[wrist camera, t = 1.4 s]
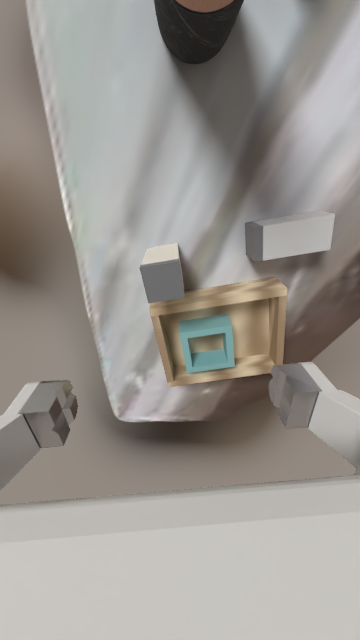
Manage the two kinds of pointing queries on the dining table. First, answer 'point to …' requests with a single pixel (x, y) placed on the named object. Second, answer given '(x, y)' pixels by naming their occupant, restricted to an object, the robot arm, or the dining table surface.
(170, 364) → the birch crate
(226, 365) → the teal socket
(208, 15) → the travel mug
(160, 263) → the ivory connector
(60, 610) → the robot arm
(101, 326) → the dining table surface
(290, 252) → the grey plug
